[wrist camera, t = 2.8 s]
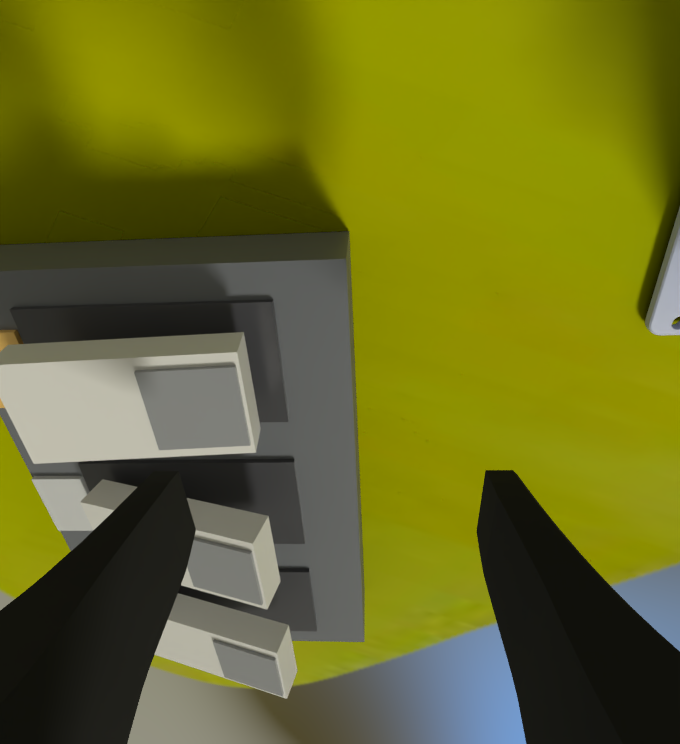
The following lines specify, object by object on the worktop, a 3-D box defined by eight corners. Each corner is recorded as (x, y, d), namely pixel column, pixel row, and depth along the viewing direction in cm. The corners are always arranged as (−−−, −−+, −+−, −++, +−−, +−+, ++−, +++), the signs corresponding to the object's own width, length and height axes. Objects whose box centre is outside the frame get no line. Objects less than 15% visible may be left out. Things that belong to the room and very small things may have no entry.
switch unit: (349, 231, 17) (345, 261, 14) (364, 591, 27) (364, 645, 25) (-14, 245, 18) (-78, 275, 15) (137, 589, 28) (114, 641, 26)
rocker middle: (268, 516, 17) (251, 546, 16) (280, 581, 19) (265, 612, 18) (102, 479, 19) (77, 504, 18) (128, 541, 21) (107, 567, 20)
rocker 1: (243, 331, 14) (236, 354, 13) (260, 428, 16) (255, 455, 15) (8, 344, 15) (-19, 368, 13) (51, 439, 16) (31, 466, 15)
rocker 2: (288, 625, 20) (275, 656, 19) (297, 670, 22) (285, 702, 21) (146, 584, 22) (127, 610, 21) (165, 629, 24) (149, 655, 23)
